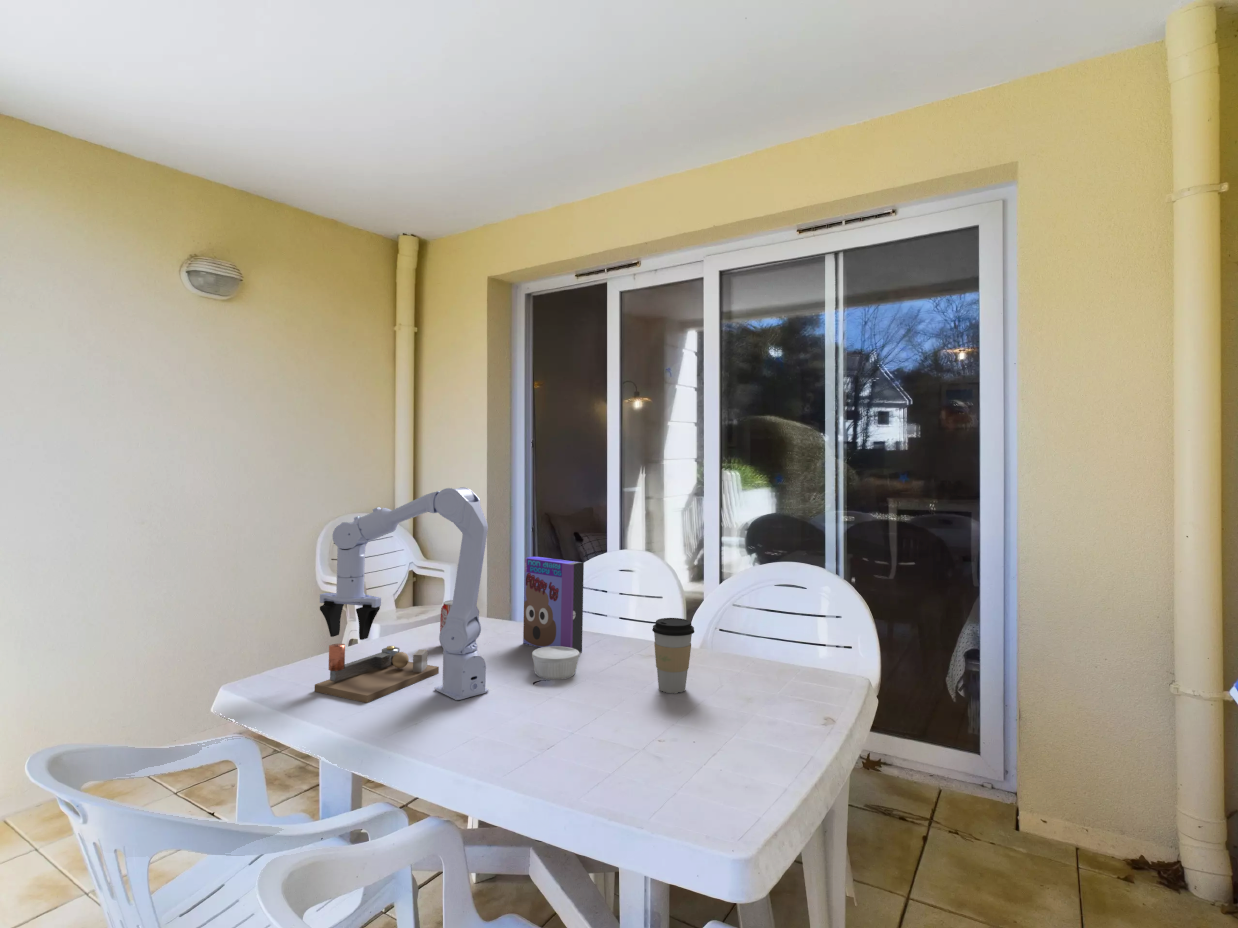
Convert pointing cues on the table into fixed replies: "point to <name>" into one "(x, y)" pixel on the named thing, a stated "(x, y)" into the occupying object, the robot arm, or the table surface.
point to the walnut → (400, 660)
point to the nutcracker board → (379, 680)
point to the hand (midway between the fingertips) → (349, 637)
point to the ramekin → (555, 662)
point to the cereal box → (553, 603)
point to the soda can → (445, 612)
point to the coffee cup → (672, 652)
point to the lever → (356, 662)
